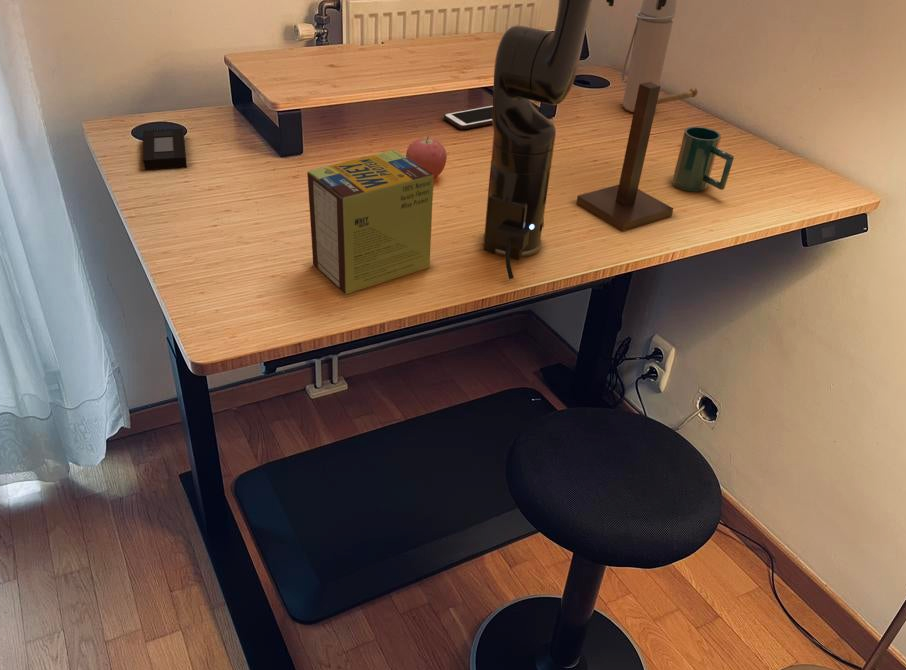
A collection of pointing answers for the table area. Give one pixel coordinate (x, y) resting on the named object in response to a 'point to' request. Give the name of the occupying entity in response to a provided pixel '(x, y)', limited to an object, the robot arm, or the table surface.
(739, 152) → the table surface
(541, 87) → the robot arm
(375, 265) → the protein box
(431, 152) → the apple
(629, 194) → the mug stand
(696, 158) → the mug
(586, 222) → the table surface
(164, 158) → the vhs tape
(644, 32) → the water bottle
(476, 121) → the cell phone
